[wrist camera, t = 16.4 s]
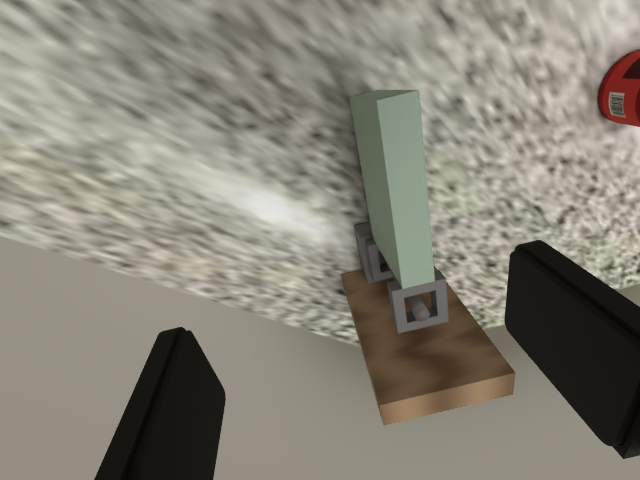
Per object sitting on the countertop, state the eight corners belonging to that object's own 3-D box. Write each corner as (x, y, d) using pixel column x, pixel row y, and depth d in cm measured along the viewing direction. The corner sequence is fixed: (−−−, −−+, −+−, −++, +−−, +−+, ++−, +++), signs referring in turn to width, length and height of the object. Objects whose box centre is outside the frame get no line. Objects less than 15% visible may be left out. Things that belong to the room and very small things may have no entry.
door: (388, 87, 33) (432, 86, 23) (409, 265, 42) (448, 321, 32) (339, 99, 33) (362, 103, 23) (371, 275, 42) (398, 333, 32)
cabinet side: (422, 208, 42) (522, 312, 25) (426, 271, 47) (512, 394, 30) (331, 231, 42) (368, 349, 25) (344, 290, 47) (383, 425, 30)
